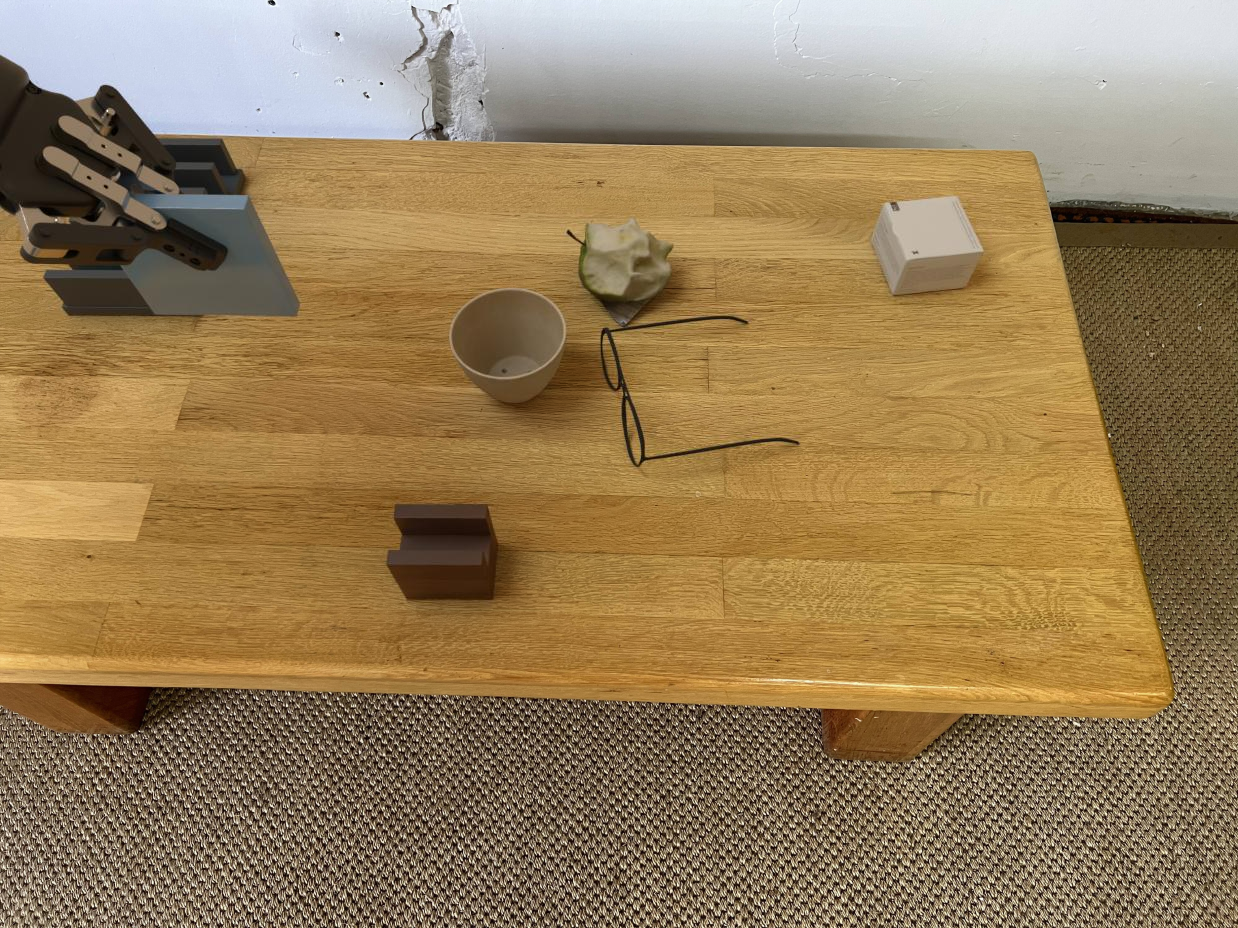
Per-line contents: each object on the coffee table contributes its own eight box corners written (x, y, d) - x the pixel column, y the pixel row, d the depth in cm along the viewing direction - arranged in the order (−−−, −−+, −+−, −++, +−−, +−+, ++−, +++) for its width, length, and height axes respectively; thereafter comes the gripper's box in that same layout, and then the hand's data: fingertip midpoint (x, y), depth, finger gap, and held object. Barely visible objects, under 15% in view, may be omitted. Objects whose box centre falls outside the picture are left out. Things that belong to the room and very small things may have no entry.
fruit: (560, 304, 86) (548, 235, 80) (621, 257, 90) (614, 188, 84) (631, 339, 82) (624, 269, 76) (691, 288, 86) (689, 218, 80)
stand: (493, 600, 69) (481, 565, 63) (405, 599, 69) (385, 564, 63) (498, 543, 72) (487, 504, 66) (413, 542, 72) (395, 503, 66)
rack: (202, 316, 84) (178, 279, 79) (67, 315, 84) (36, 278, 79) (246, 177, 93) (227, 137, 89) (125, 176, 93) (100, 136, 89)
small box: (967, 289, 86) (986, 252, 81) (890, 297, 85) (905, 260, 81) (941, 232, 89) (958, 193, 85) (868, 239, 89) (881, 201, 84)
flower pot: (591, 392, 79) (588, 343, 73) (496, 444, 76) (486, 398, 70) (534, 321, 83) (527, 270, 77) (442, 368, 81) (427, 319, 74)
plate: (297, 316, 61) (244, 209, 52) (154, 314, 61) (78, 207, 52) (300, 303, 61) (248, 194, 52) (159, 301, 61) (84, 192, 52)
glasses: (596, 352, 82) (601, 317, 77) (743, 333, 85) (755, 298, 81) (635, 481, 75) (643, 450, 70) (793, 454, 78) (810, 423, 74)
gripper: (-64, 44, 51) (226, 205, 61) (-172, 211, 44) (174, 359, 55) (-32, -45, 46) (275, 145, 57) (-148, 125, 39) (225, 305, 50)
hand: (224, 250), depth 56 cm, fingers closed on plate, 1 cm apart
